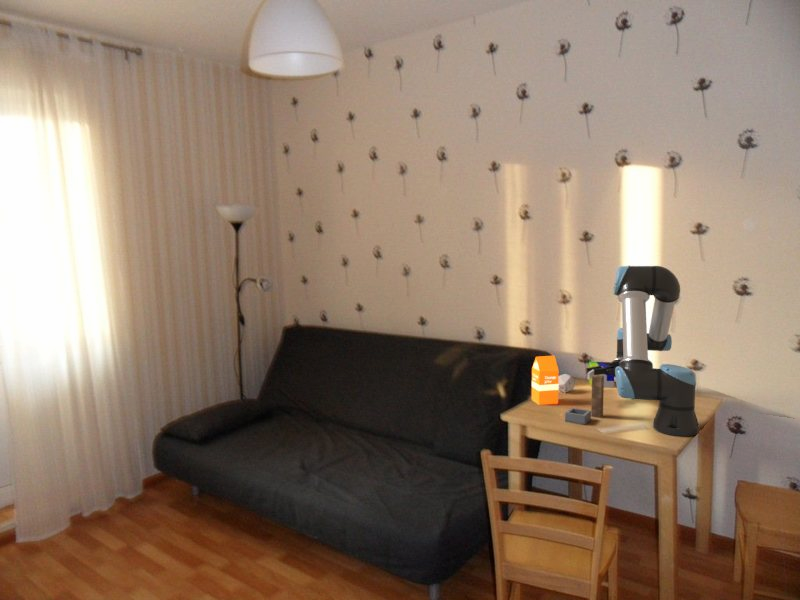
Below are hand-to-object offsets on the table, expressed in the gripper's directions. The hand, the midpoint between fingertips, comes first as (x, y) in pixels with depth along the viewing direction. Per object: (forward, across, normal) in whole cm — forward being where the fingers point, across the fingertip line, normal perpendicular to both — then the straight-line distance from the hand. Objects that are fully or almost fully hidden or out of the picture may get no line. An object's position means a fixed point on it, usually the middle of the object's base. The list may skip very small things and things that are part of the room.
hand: (605, 378), depth 228 cm
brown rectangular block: (+10, 0, -13) cm, 16 cm away
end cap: (+20, +4, -12) cm, 24 cm away
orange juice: (+3, +24, -13) cm, 28 cm away
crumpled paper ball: (-17, +22, -14) cm, 31 cm away
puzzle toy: (-37, +12, -14) cm, 41 cm away
